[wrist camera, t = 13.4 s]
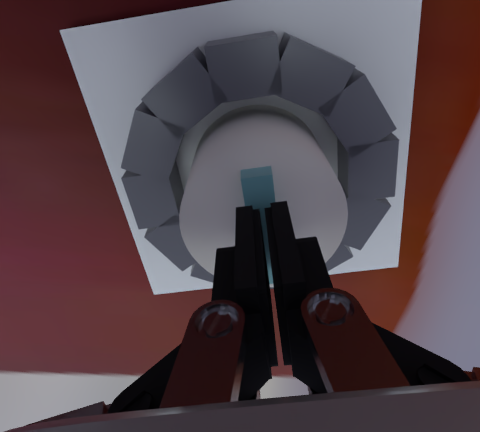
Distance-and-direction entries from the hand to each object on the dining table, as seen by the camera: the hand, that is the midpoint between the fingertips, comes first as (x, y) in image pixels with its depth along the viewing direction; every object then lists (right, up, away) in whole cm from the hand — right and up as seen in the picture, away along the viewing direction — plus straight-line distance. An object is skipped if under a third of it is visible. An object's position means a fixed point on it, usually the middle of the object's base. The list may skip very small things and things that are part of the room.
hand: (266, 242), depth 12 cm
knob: (0, +3, +5) cm, 6 cm away
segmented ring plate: (0, +4, +6) cm, 7 cm away
